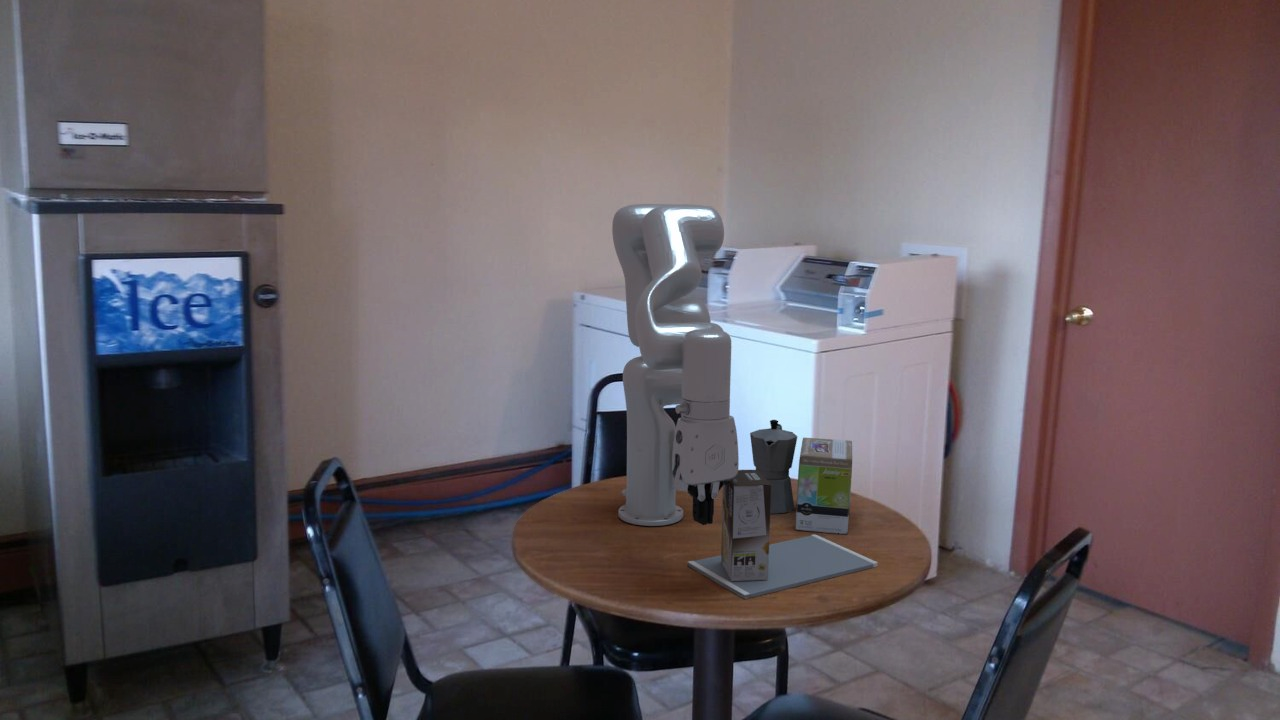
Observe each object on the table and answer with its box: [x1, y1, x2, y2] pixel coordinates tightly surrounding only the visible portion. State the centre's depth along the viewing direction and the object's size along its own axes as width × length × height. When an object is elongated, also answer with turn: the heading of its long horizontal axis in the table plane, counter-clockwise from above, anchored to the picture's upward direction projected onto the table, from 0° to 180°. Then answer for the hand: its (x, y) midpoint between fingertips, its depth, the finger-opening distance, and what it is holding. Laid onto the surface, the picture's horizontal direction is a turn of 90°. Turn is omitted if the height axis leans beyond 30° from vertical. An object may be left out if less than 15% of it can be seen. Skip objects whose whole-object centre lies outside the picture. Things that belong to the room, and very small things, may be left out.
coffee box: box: [720, 469, 771, 581], centre depth 162 cm, size 9×6×16 cm
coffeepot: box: [749, 419, 798, 515], centre depth 198 cm, size 15×9×18 cm, turn 165°
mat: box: [687, 534, 879, 600], centre depth 167 cm, size 16×28×1 cm, turn 121°
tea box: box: [795, 437, 853, 535], centre depth 190 cm, size 15×10×15 cm, turn 168°
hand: (702, 521), depth 157 cm, fingers closed
